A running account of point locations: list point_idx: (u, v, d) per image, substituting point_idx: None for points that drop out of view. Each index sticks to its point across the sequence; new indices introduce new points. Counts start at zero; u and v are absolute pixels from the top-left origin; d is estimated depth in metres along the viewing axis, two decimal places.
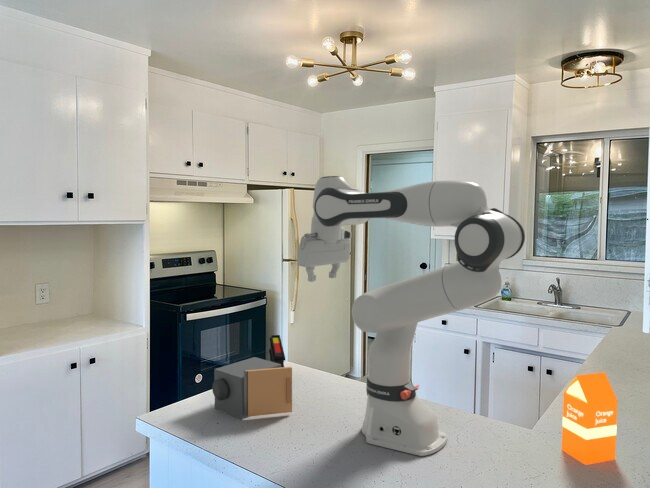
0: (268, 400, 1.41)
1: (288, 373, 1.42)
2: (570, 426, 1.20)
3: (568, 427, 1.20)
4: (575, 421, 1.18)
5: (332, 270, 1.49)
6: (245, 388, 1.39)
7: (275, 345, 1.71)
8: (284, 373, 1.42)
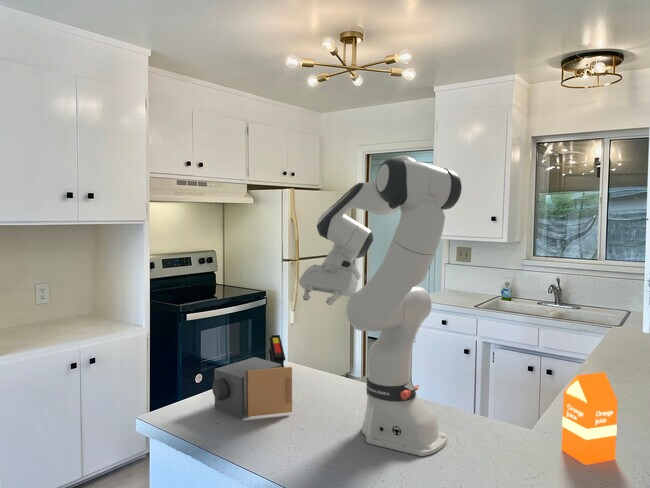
0: (268, 400, 1.41)
1: (288, 373, 1.42)
2: (570, 426, 1.20)
3: (568, 427, 1.20)
4: (575, 421, 1.18)
5: None
6: (245, 388, 1.39)
7: (275, 345, 1.71)
8: (284, 373, 1.42)
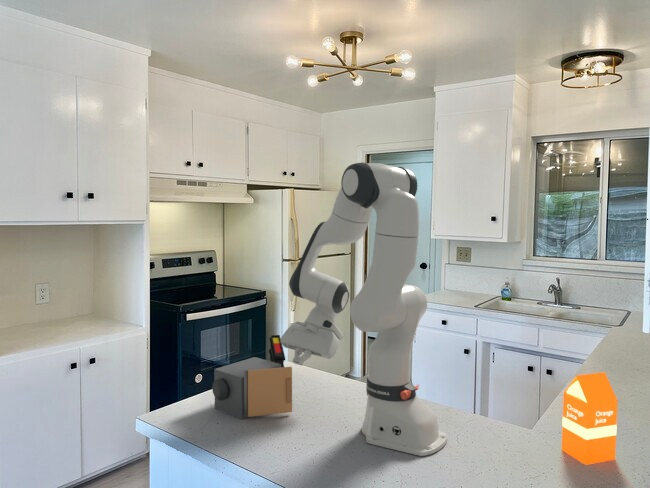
0: (268, 400, 1.41)
1: (288, 373, 1.42)
2: (570, 426, 1.20)
3: (568, 427, 1.20)
4: (575, 421, 1.18)
5: None
6: (245, 388, 1.39)
7: (275, 345, 1.71)
8: (284, 373, 1.42)
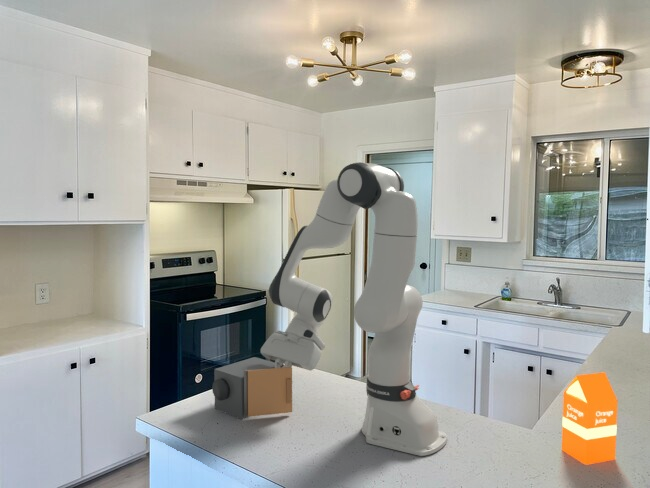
0: (268, 400, 1.41)
1: (288, 373, 1.42)
2: (570, 426, 1.20)
3: (568, 427, 1.20)
4: (575, 421, 1.18)
5: None
6: (245, 388, 1.39)
7: None
8: (284, 373, 1.41)
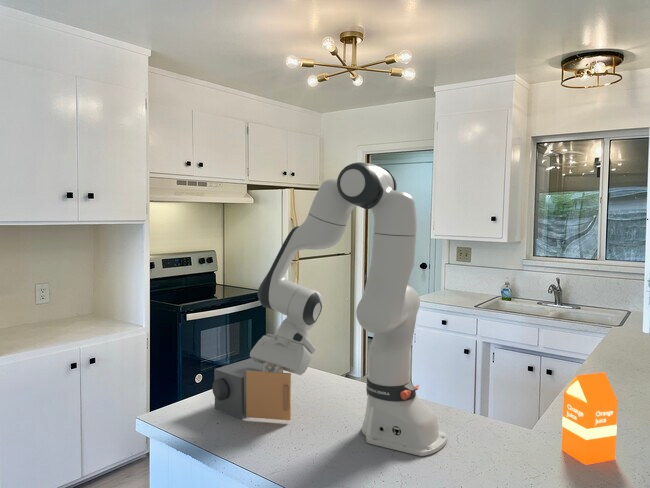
0: (266, 404, 1.38)
1: (286, 379, 1.36)
2: (570, 426, 1.20)
3: (568, 427, 1.20)
4: (575, 421, 1.18)
5: None
6: (244, 388, 1.39)
7: None
8: (281, 379, 1.37)
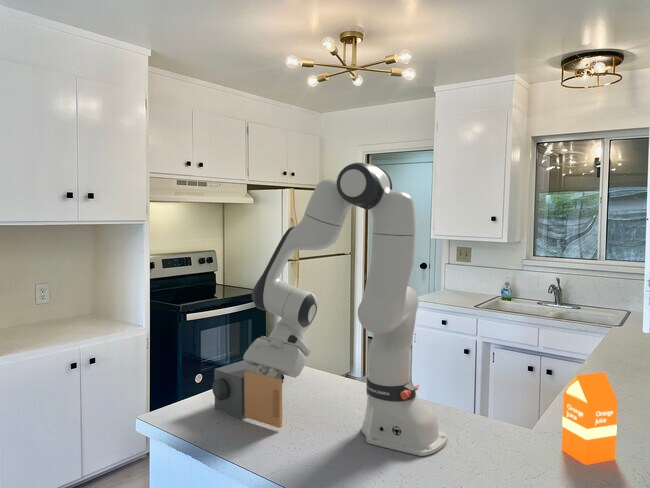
0: (260, 407, 1.36)
1: (277, 385, 1.32)
2: (570, 426, 1.20)
3: (568, 427, 1.20)
4: (575, 421, 1.18)
5: None
6: (244, 388, 1.40)
7: None
8: (273, 384, 1.33)
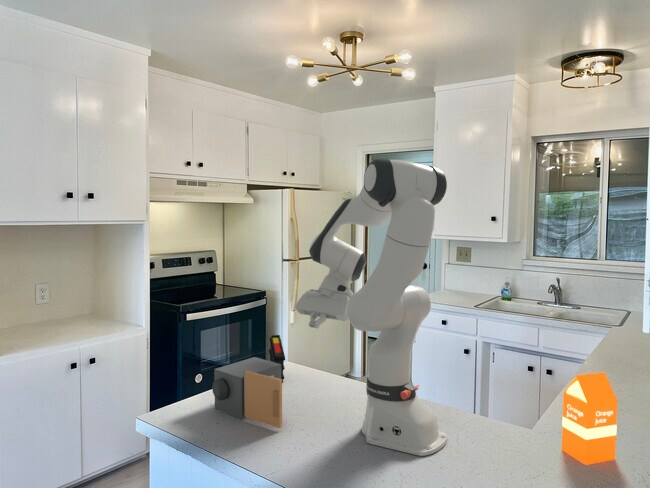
0: (260, 407, 1.36)
1: (276, 385, 1.32)
2: (570, 426, 1.20)
3: (568, 427, 1.20)
4: (575, 421, 1.18)
5: None
6: (244, 388, 1.40)
7: (275, 345, 1.71)
8: (272, 384, 1.33)
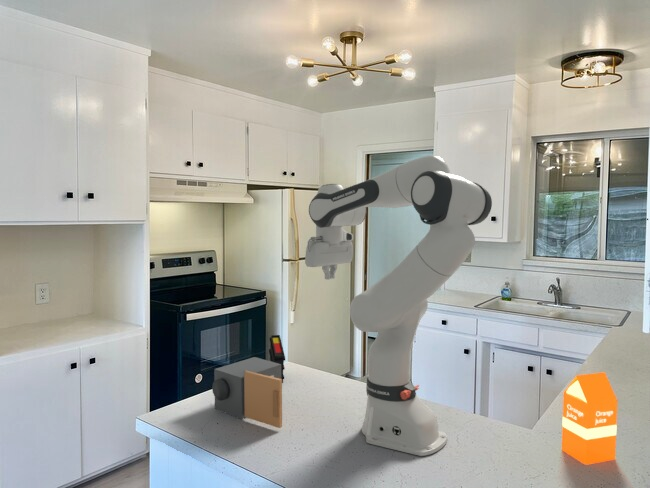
0: (260, 407, 1.36)
1: (276, 385, 1.32)
2: (570, 426, 1.20)
3: (568, 427, 1.20)
4: (575, 421, 1.18)
5: (330, 271, 1.59)
6: (244, 388, 1.40)
7: (275, 345, 1.71)
8: (272, 384, 1.33)
